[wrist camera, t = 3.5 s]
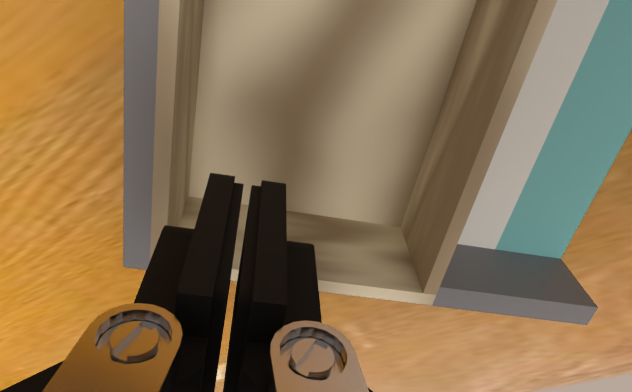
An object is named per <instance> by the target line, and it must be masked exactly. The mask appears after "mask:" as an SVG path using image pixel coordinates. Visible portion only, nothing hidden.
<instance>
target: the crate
mask: <svg viewBox="0 0 632 392" xmlns="http://www.w3.org/2000/svg"><path fill="white" fill-rule="evenodd" d="M556 2H557V0H159V22H158V50H157V77H156V105H155V133H154V160H153V188H152V216H151V243H150V260H151V257H152V255H153V252H154V250H155V247H156V244H157V242H158V239H159V237H160V234H161V231H162V229H163V227H164V226H165V225H168V226H176V227H184V228H192V229H194V228H195V225H196V221H197V218H198V214H199V211H200V207H201V204H202V200H203V197H204V193H205V189H206V186H207V182H208V179H209V175H210V173H216V174H223V175H230V176H235V182H234V183H241V184H244V186H243V193H242V200H241V208H240V215H239V222H238V229H237V236H236V243H235V250H234V258H233V265H232V272H231V279H230V280H232V281H237V279H238V273H239V266H240V259H241V253H242V246H243V239H244V232H245V226H246V219H247V212H248V206H249V199H250V192H251V186H252V185H255V186H261V182H262V180H265V181H272V182H278V183H285V184H286V217H287V241H294V242H302V243H309V244H313V245H314V249H315V258H316V269H317V280H318V290H319V291H320V292H328V293H336V294H344V295H352V296H360V297H368V298H376V299H384V300H392V301H400V302H408V303H416V304H424V305H432V304H433V302H434V299H435V297H436V295H437V292H438V290H439V287H440V285H441V282H442V280H443V278H444V275H445V273H446V270H447V268H448V265H449V263H450V261H451V258H452V256H453V253H454V251H455V248H456V246H457V243H458V241H459V239H460V236H461V234H462V231H463V229H464V226H465V224H466V222H467V219H468V217H469V214H470V212H471V209H472V207H473V205H474V202H475V200H476V197H477V195H478V192H479V190H480V187H481V185H482V183H483V180H484V178H485V175H486V173H487V170H488V168H489V166H490V163H491V161H492V158H493V156H494V153H495V151H496V149H497V146H498V144H499V141H500V139H501V136H502V134H503V131H504V129H505V127H506V124H507V122H508V119H509V117H510V114H511V112H512V110H513V107H514V105H515V102H516V100H517V97H518V95H519V93H520V90H521V88H522V85H523V83H524V80H525V78H526V75H527V73H528V71H529V68H530V66H531V63H532V61H533V58H534V56H535V54H536V51H537V49H538V46H539V44H540V41H541V39H542V37H543V34H544V32H545V29H546V27H547V24H548V22H549V19H550V17H551V15H552V12H553V10H554V7H555V5H556Z"/></svg>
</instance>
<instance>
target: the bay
mask: <svg viewBox="0 0 632 392" xmlns="http://www.w3.org/2000/svg"><path fill="white" fill-rule="evenodd" d="M158 22H159V0H124V230H123V267H126V268H134V269H142V270H147V268H148V265H149V263H150V243H151V216H152V188H153V160H154V133H155V105H156V77H157V50H158ZM631 129H632V0H557V2H556V5H555V7H554V10H553V12H552V15H551V17H550V19H549V22H548V24H547V27H546V29H545V32H544V34H543V37H542V39H541V41H540V44H539V46H538V49H537V51H536V54H535V56H534V58H533V61H532V63H531V66H530V68H529V71H528V73H527V75H526V78H525V80H524V83H523V85H522V88H521V90H520V93H519V95H518V97H517V100H516V102H515V105H514V107H513V110H512V112H511V114H510V117H509V119H508V122H507V124H506V127H505V129H504V131H503V134H502V136H501V139H500V141H499V144H498V146H497V149H496V151H495V153H494V156H493V158H492V161H491V163H490V166H489V168H488V170H487V173H486V175H485V178H484V180H483V183H482V185H481V187H480V190H479V192H478V195H477V197H476V200H475V202H474V205H473V207H472V209H471V212H470V214H469V217H468V219H467V222H466V224H465V226H464V229H463V231H462V234H461V236H460V239H459V241H458V243H457V246H456V248H455V251H454V253H453V256H452V258H451V261H450V263H449V265H448V268H447V270H446V273H445V275H444V278H443V280H442V282H441V285H440V287H439V290H438V292H437V295H436V297H435V299H434V302H433V304H432V305H430V306H438V307H446V308H454V309H462V310H471V311H479V312H487V313H495V314H503V315H511V316H519V317H527V318H535V319H543V320H551V321H559V322H567V323H575V324H583V325H587V324H588V323H589V321H590V320H591V318H592V316H593V315H594V313H595V312H596V310H597V308H598V307H597V306H596V304H595V303H594V302H593V300H592V299H591V298H590V296H589V295H588V294H587V293H586V291H585V290H584V289H583V287H582V286H581V285H580V283H579V282H578V281H577V279H576V278H575V277H574V276H573V274H572V273H571V272H570V270H569V269H568V268H567V266H566V265H565V264H564V263H563V261H562V260H561V257H562V255H563V253H564V252H565V250H566V248H567V246H568V244H569V242H570V241H571V239H572V237H573V235H574V233H575V231H576V230H577V228H578V226H579V224H580V222H581V221H582V219H583V217H584V215H585V213H586V211H587V210H588V208H589V206H590V204H591V202H592V200H593V199H594V197H595V195H596V193H597V191H598V189H599V188H600V186H601V184H602V182H603V180H604V178H605V177H606V175H607V173H608V171H609V169H610V167H611V166H612V164H613V162H614V160H615V158H616V156H617V155H618V153H619V151H620V149H621V147H622V146H623V144H624V142H625V140H626V138H627V136H628V135H629V133H630V131H631ZM230 281H232V280H230ZM319 292H320V291H319ZM326 293H328V292H326ZM334 294H336V293H334ZM342 295H344V294H342ZM350 296H352V295H350ZM358 297H360V296H358ZM366 298H368V297H366ZM374 299H376V298H374ZM382 300H384V299H382ZM390 301H392V300H390ZM398 302H400V301H398ZM406 303H408V302H406ZM414 304H416V303H414ZM422 305H424V304H422Z"/></svg>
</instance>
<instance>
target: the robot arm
mask: <svg viewBox="0 0 632 392" xmlns="http://www.w3.org/2000/svg"><path fill="white" fill-rule="evenodd" d="M234 182H235V176H230V175H223V174H216V173H210V175H209V179H208V182H207V186H206V189H205V193H204V197H203V200H202V204H201V207H200V211H199V214H198V218H197V221H196V225H195V228H194V229H192V228H184V227H176V226H168V225H165V226H164V227H163V229H162V231H161V234H160V237H159V239H158V242H157V244H156V247H155V250H154V252H153V255H152V257H151V260H150V263H149V265H148V268H147V270H146V273H145V276H144V278H143V281H142V283H141V286H140V288H139V291H138V294H137V296H136V299H135V301H134V304H125V305H121V306H118V307H115V308H112V309H109V310H108V311H106V312H104V313H103V314H101V315H99V316H98V317H97V318H96V319H95V320H94V321H93V322H92V323H91V324H90V325H89V326H88V328H87V329H86V331H85V332H84V333H83V335H82V336H81V338H80V339H79V340H78V342H77V343H76V345H75V346H74V347H73V349H72V350H71V352H70V353H69V355H68V356H67V357H66V359H65V360H64V361H62V362H60V363H58V364H56V365H54V366H52V367H50V368H48V369H46V370H43V371H41V372H39V373H37V374H35V375H33V376H31V377H29V378H27V379H25V380H23V381H21V382H19V383H16V384H14V385H12V386H10V387H8V388H6V389H4V390H2V391H0V392H214V389H215V382H216V376H217V369H218V362H219V355H220V348H221V341H222V334H223V327H224V320H225V314H226V307H227V300H228V293H229V286H230V279H231V272H232V265H233V258H234V250H235V243H236V236H237V229H238V222H239V215H240V208H241V200H242V193H243V186H244V184H241V183H234ZM223 392H373V391H371V390H370V389H369V388H368V387H367V384H366V381H365V378H364V375H363V373H362V370H361V367H360V364H359V361H358V358H357V355H356V352H355V350H354V348H353V346H352V345H351V343H350V341H349V340H348V339H347V338H346V337H345V336H344V335H343V334H342V333H341V332H339V331H338V330H336V329H335V328H333V327H331V326H329V325H326V324H323V323H322V322H321V312H320V301H319V290H318V280H317V269H316V258H315V249H314V245H313V244H309V243H302V242H294V241H287V217H286V184H285V183H278V182H272V181H265V180H262V182H261V186H255V185H252V186H251V192H250V199H249V206H248V212H247V219H246V226H245V232H244V239H243V246H242V253H241V259H240V266H239V273H238V279H237V286H236V294H235V302H234V310H233V317H232V325H231V333H230V341H229V349H228V357H227V365H226V373H225V381H224V389H223Z"/></svg>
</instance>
